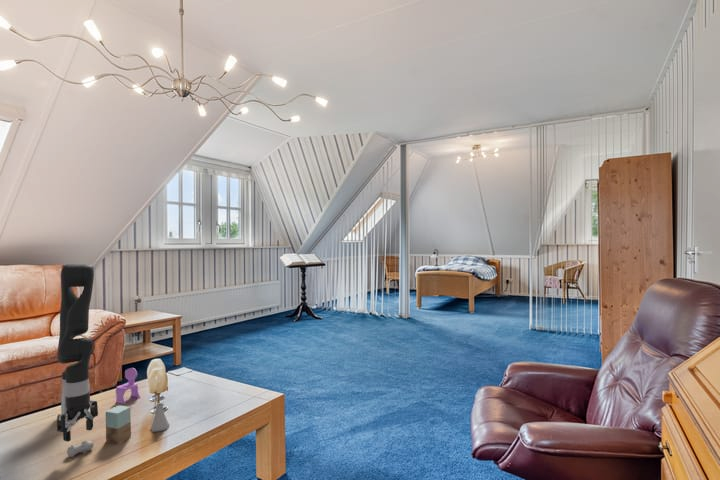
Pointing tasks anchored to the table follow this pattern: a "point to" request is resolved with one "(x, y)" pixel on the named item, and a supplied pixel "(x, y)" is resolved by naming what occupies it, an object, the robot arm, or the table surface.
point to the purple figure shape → (127, 386)
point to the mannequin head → (80, 448)
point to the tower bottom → (118, 434)
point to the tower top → (118, 416)
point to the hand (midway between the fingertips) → (78, 435)
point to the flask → (159, 419)
